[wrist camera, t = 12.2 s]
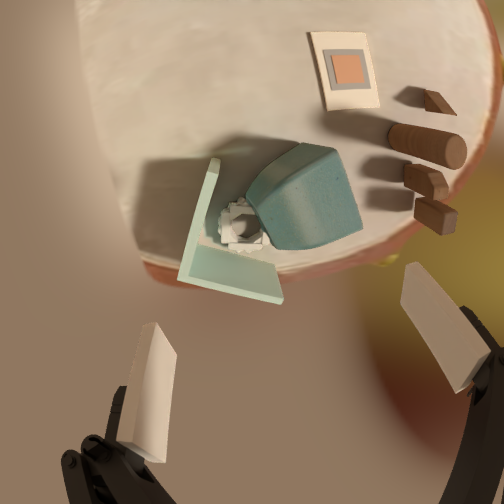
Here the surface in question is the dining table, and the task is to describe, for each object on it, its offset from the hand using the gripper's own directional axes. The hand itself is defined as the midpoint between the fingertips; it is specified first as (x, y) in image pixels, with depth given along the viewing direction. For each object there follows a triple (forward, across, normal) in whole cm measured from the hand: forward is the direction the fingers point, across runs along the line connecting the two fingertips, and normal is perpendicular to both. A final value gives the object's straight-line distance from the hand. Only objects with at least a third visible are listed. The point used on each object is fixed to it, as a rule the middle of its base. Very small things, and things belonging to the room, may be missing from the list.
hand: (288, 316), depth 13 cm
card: (+22, +14, +13) cm, 28 cm away
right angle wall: (+22, -2, -4) cm, 22 cm away
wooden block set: (+22, +22, +1) cm, 31 cm away
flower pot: (+16, 0, -2) cm, 16 cm away
